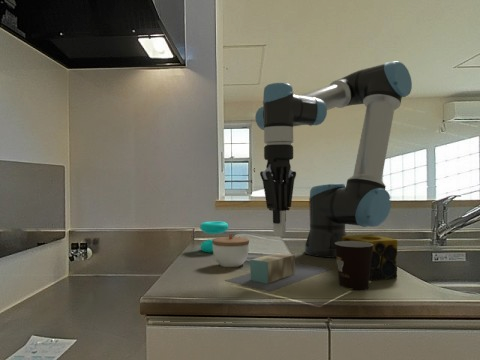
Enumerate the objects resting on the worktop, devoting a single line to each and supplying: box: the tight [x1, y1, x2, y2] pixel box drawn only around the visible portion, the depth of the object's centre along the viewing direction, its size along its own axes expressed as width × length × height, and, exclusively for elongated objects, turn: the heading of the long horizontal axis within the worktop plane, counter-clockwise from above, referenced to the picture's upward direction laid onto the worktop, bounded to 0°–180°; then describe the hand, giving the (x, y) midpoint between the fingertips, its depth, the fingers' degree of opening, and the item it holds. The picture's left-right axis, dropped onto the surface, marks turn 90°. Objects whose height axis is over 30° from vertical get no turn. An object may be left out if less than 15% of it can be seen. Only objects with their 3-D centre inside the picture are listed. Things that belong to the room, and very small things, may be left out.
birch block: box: [249, 252, 296, 283], centre depth 98 cm, size 5×5×12 cm
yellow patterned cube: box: [342, 233, 398, 282], centre depth 101 cm, size 10×10×10 cm
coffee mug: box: [335, 241, 373, 292], centre depth 92 cm, size 12×9×10 cm
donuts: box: [199, 220, 229, 253], centre depth 137 cm, size 10×10×10 cm
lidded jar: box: [211, 233, 250, 268], centre depth 113 cm, size 11×11×9 cm
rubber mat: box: [224, 262, 332, 292], centre depth 101 cm, size 28×14×1 cm, turn 138°
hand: (279, 235), depth 100 cm, fingers closed
